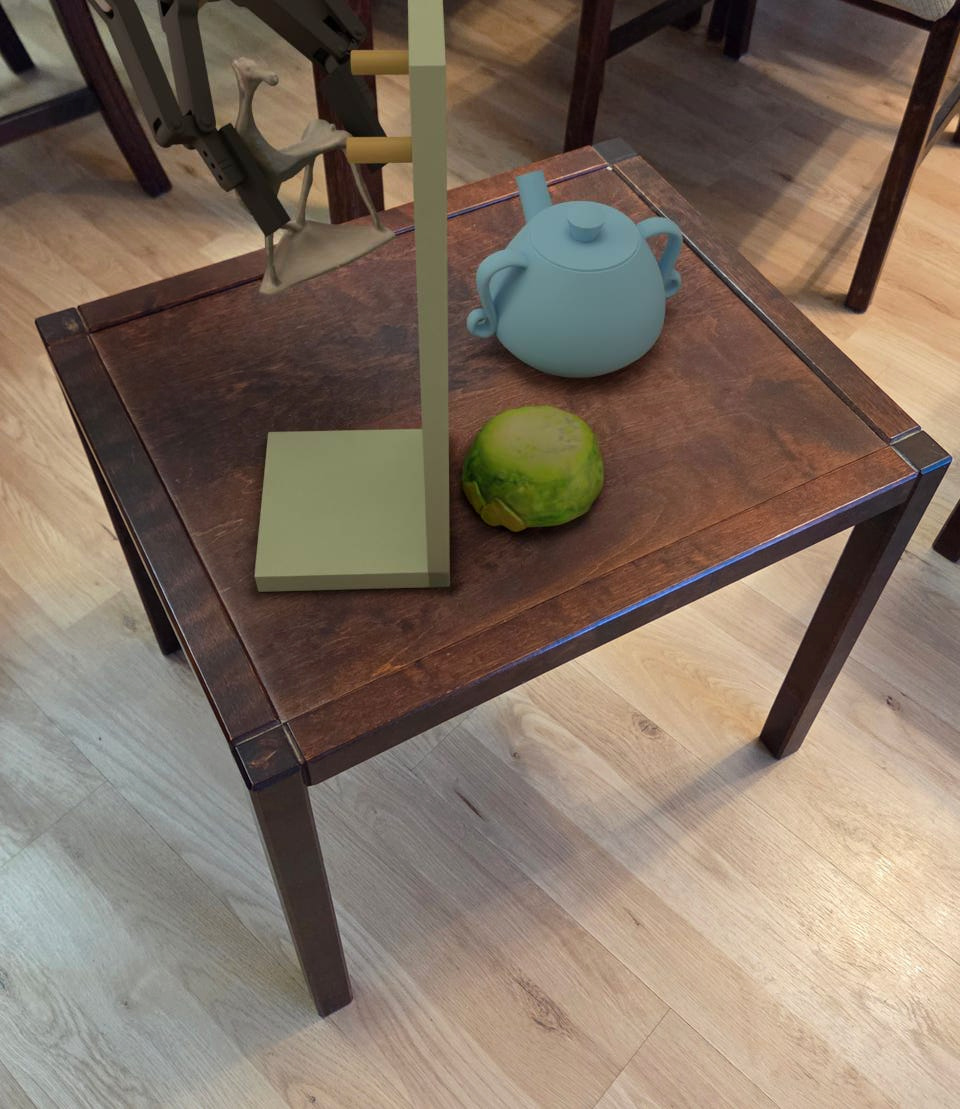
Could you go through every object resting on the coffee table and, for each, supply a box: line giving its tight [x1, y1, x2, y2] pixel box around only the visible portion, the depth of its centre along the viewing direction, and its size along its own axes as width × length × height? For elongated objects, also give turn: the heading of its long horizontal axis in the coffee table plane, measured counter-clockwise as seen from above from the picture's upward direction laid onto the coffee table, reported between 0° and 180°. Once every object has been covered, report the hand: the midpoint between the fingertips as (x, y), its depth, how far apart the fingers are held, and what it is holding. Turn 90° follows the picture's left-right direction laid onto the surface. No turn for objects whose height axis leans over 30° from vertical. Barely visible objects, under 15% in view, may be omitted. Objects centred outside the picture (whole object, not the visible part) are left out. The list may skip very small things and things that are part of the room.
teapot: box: [466, 169, 684, 379], centre depth 90 cm, size 20×20×13 cm
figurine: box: [230, 56, 397, 296], centre depth 69 cm, size 11×6×15 cm, turn 123°
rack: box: [254, 0, 451, 593], centre depth 65 cm, size 14×14×40 cm
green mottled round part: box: [461, 404, 605, 533], centre depth 82 cm, size 12×11×5 cm
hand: (333, 195), depth 69 cm, fingers closed on figurine, 9 cm apart
